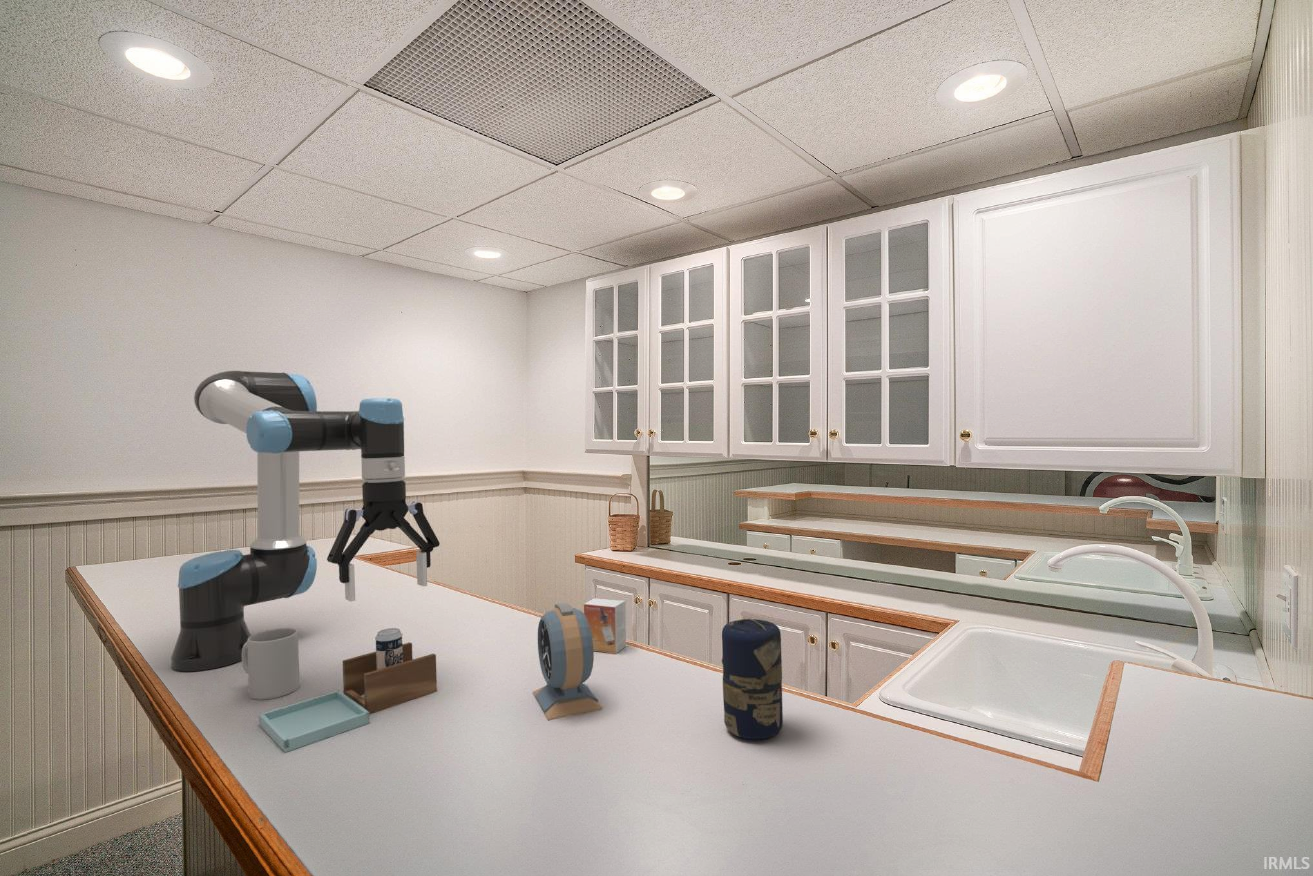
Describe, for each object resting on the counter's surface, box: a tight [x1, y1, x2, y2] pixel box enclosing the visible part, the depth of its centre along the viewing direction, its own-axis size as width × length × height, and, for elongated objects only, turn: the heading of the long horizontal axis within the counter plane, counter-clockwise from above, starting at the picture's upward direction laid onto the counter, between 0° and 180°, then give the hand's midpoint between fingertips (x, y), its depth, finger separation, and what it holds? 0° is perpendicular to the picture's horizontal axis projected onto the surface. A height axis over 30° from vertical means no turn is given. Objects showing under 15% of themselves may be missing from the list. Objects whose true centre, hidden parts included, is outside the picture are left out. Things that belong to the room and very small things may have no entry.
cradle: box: [342, 642, 438, 714], centre depth 119 cm, size 11×13×7 cm
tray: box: [258, 690, 371, 753], centre depth 107 cm, size 14×13×2 cm
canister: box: [721, 618, 784, 740], centre depth 101 cm, size 10×10×18 cm
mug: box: [241, 627, 301, 701], centre depth 122 cm, size 12×8×11 cm
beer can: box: [375, 627, 403, 670], centre depth 119 cm, size 5×5×12 cm
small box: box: [583, 597, 627, 655], centre depth 141 cm, size 8×6×10 cm
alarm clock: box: [532, 602, 603, 721], centre depth 114 cm, size 14×10×18 cm
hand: (387, 592), depth 118 cm, fingers open, 13 cm apart
